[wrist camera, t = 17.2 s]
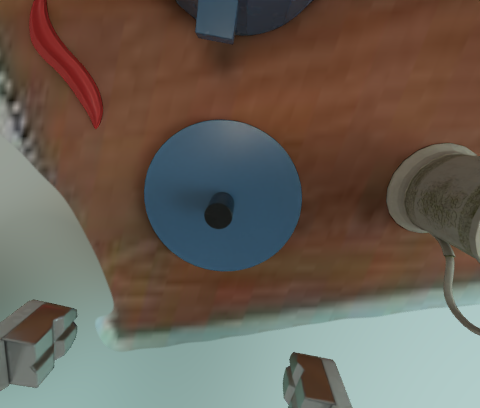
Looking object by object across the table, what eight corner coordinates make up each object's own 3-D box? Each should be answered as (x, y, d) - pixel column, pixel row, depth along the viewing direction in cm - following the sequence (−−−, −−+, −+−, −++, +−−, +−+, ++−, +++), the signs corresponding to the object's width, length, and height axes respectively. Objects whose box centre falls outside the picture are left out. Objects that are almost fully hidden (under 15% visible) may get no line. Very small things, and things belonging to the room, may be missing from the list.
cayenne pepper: (20, -7, 21) (-2, -21, 19) (69, -16, 20) (52, -30, 19) (67, 132, 24) (52, 133, 22) (109, 127, 24) (98, 126, 22)
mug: (410, 134, 23) (566, 138, 12) (501, 155, 24) (735, 178, 12) (358, 257, 28) (435, 346, 16) (435, 273, 28) (564, 371, 17)
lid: (307, 121, 23) (324, 119, 18) (292, 268, 29) (302, 297, 24) (140, 118, 24) (112, 115, 19) (155, 264, 29) (136, 291, 24)
